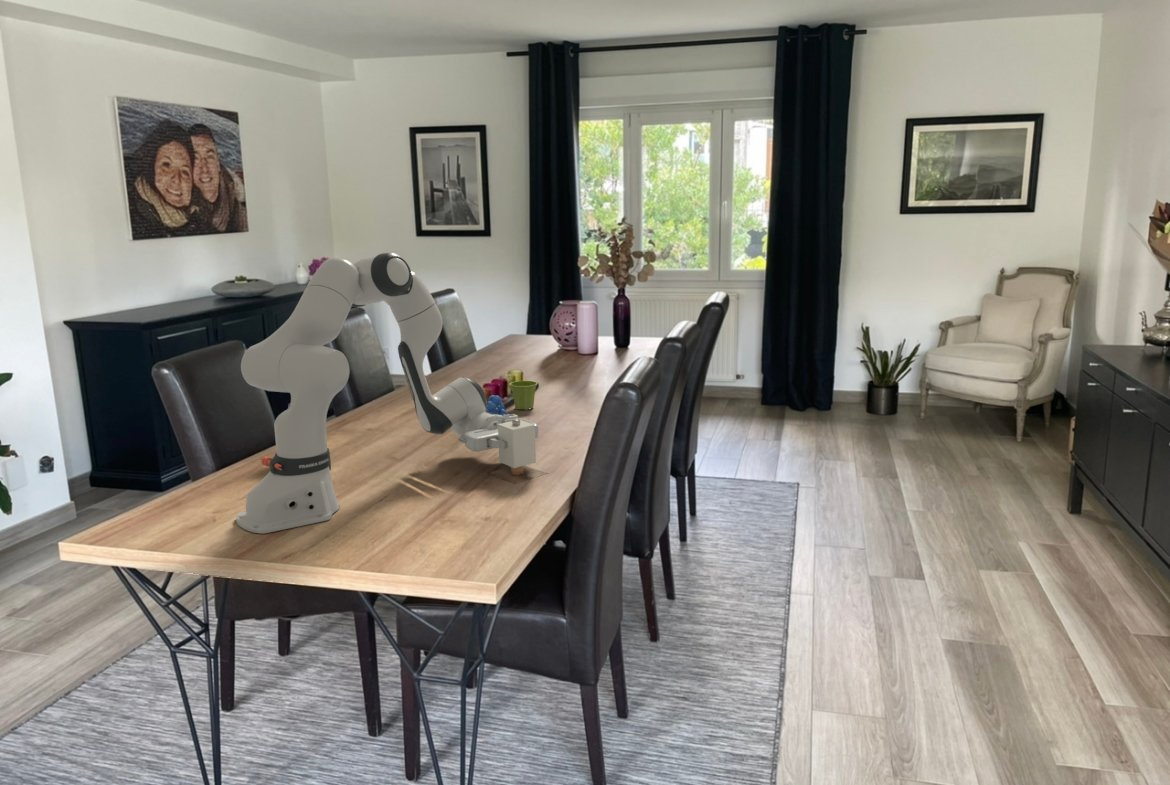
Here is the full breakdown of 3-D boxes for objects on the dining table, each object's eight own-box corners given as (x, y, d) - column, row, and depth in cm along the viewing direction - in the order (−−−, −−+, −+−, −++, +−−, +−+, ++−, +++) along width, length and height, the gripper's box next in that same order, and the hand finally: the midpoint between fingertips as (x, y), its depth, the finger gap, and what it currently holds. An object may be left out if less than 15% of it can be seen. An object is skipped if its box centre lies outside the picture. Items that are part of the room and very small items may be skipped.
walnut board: (514, 488, 213) (514, 483, 212) (487, 478, 220) (487, 473, 220) (548, 477, 220) (548, 473, 220) (520, 468, 228) (520, 464, 227)
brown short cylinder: (516, 476, 218) (516, 465, 217) (508, 473, 220) (508, 462, 219) (526, 473, 220) (526, 462, 219) (518, 470, 222) (518, 460, 221)
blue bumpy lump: (501, 438, 255) (500, 399, 253) (480, 437, 257) (479, 398, 254) (515, 428, 266) (514, 390, 263) (495, 427, 268) (494, 389, 265)
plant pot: (506, 406, 293) (505, 382, 291) (532, 403, 297) (531, 379, 295) (516, 413, 285) (515, 387, 283) (542, 409, 289) (541, 384, 287)
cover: (514, 468, 215) (512, 425, 212) (499, 461, 220) (497, 419, 217) (535, 462, 219) (534, 420, 216) (520, 456, 224) (519, 415, 221)
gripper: (454, 426, 221) (483, 438, 210) (519, 413, 233) (550, 423, 223) (455, 450, 222) (484, 462, 212) (520, 435, 235) (550, 446, 224)
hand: (518, 442), depth 217 cm, fingers closed on cover, 7 cm apart
